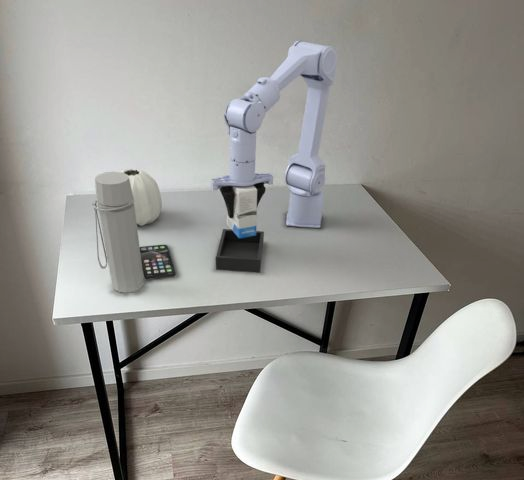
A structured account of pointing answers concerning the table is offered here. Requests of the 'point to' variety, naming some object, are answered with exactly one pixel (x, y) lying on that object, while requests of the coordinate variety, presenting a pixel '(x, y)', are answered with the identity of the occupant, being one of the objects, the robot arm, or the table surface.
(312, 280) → the table surface
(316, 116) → the robot arm
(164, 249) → the smartphone
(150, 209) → the vase
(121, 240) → the water bottle
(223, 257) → the tray
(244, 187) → the ink box
